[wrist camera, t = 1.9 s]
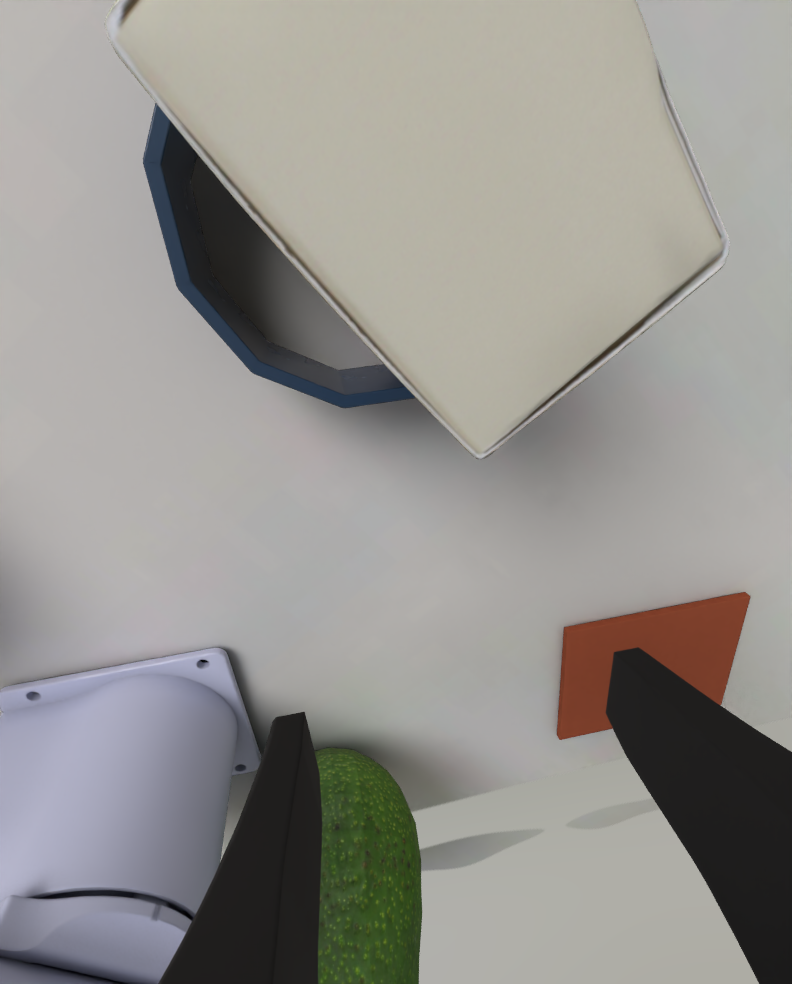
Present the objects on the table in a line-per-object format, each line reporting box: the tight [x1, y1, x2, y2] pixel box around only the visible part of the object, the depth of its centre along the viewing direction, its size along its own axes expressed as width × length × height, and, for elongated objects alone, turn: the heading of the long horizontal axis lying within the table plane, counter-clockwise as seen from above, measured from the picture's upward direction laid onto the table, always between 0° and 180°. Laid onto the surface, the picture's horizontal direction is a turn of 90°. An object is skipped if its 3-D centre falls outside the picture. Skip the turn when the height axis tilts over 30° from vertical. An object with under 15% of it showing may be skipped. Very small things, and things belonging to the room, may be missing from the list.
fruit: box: [314, 748, 422, 984], centre depth 21 cm, size 8×8×12 cm
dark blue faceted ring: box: [143, 103, 416, 408], centre depth 15 cm, size 10×10×4 cm
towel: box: [557, 592, 750, 740], centre depth 28 cm, size 10×8×1 cm
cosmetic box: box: [104, 0, 730, 459], centre depth 11 cm, size 6×4×12 cm
